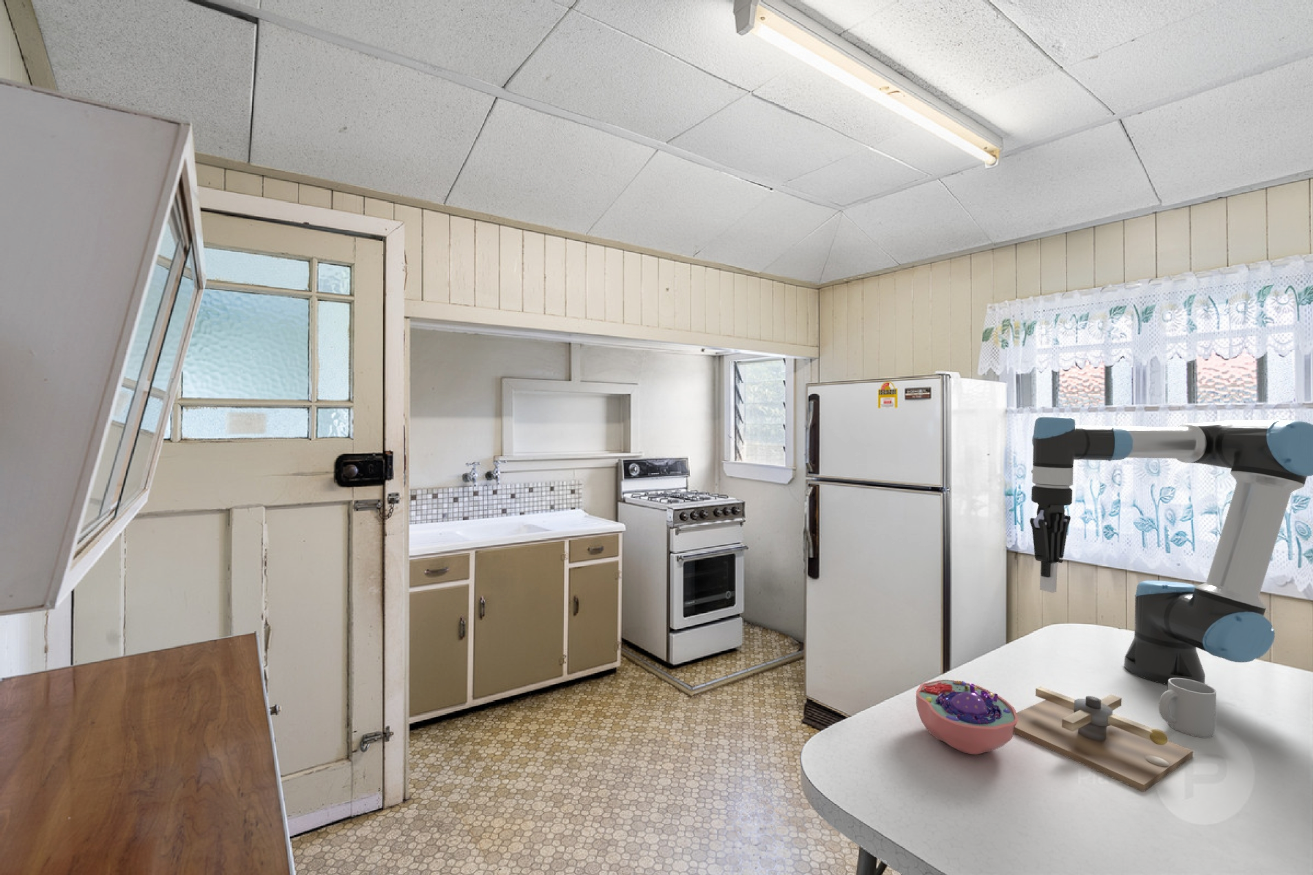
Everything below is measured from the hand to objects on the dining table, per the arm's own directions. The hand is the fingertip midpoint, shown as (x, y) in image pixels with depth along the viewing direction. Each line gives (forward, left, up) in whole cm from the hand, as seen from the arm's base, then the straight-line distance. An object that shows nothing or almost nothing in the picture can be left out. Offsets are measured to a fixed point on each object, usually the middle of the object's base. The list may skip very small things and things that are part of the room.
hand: (1047, 590), depth 131 cm
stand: (+11, +14, -24) cm, 30 cm away
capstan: (+11, +15, -20) cm, 27 cm away
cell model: (+34, +2, -25) cm, 42 cm away
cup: (-11, +21, -25) cm, 34 cm away
